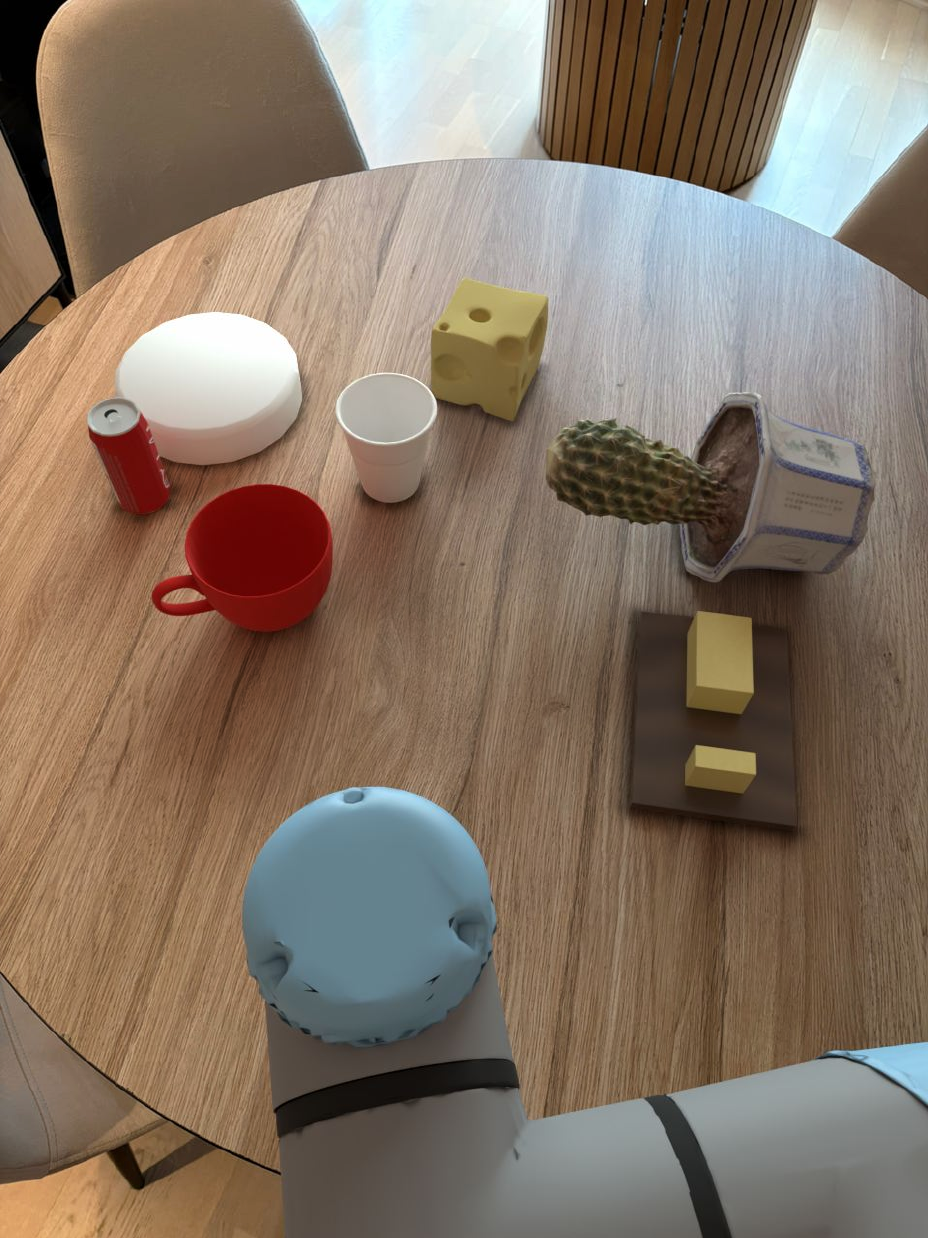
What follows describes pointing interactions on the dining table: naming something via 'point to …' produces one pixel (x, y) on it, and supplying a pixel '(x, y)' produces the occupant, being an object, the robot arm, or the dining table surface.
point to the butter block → (719, 662)
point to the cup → (387, 432)
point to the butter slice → (720, 769)
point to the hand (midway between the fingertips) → (403, 1077)
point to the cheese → (488, 347)
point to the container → (212, 386)
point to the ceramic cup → (255, 558)
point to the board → (710, 730)
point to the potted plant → (726, 488)
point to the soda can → (128, 455)
